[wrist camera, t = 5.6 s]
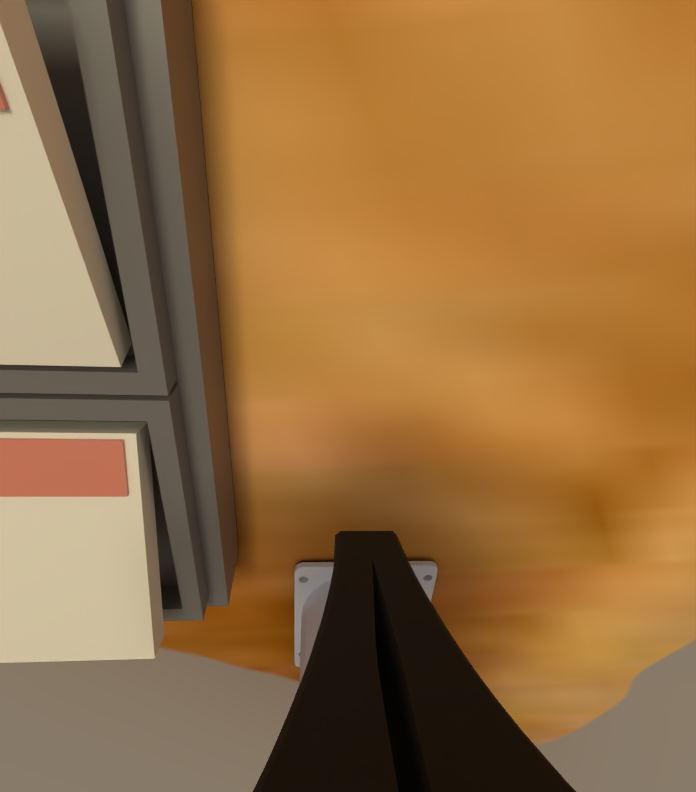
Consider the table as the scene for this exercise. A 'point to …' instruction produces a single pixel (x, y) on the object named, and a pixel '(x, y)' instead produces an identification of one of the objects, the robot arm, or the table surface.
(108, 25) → the switch box
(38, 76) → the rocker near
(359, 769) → the robot arm
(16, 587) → the rocker far
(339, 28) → the table surface
